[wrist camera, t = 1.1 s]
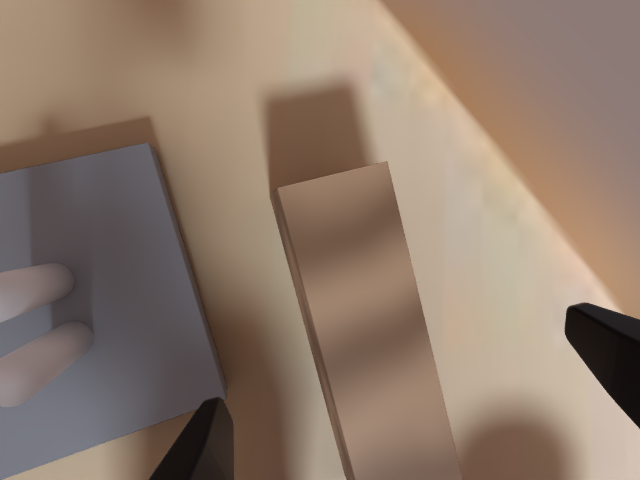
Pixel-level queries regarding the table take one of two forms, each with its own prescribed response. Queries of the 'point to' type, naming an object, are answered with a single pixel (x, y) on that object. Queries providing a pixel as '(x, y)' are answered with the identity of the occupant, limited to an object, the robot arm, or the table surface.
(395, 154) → the table surface
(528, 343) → the table surface
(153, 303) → the peg stand
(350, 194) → the brown rectangular block
